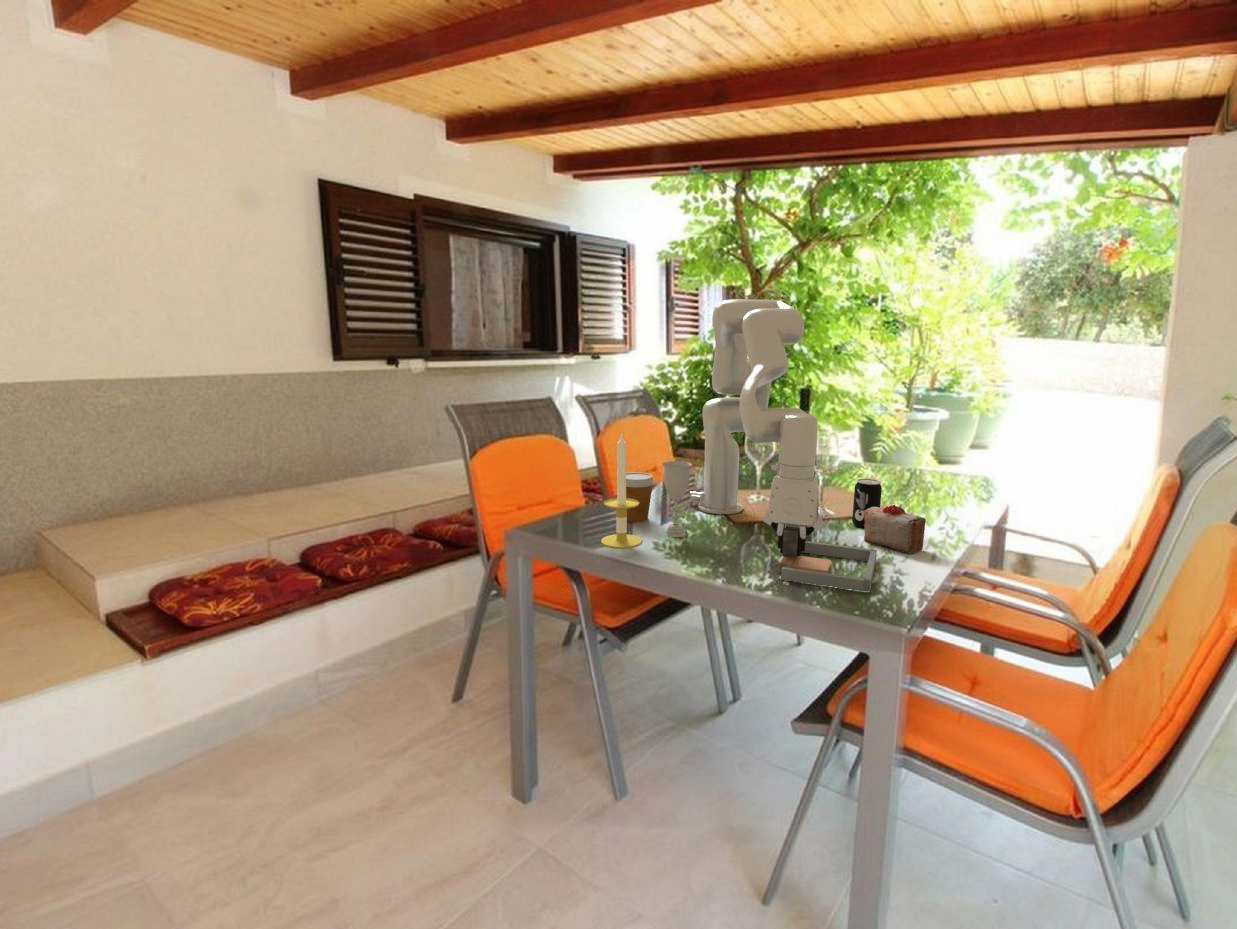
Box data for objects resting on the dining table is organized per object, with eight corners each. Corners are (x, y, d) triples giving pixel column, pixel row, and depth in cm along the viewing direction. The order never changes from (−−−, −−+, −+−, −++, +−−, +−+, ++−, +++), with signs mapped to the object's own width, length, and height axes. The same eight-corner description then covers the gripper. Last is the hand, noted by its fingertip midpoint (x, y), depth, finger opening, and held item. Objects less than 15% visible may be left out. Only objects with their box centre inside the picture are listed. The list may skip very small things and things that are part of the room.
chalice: (692, 531, 171) (694, 462, 167) (686, 539, 164) (688, 467, 161) (665, 528, 173) (666, 460, 169) (657, 536, 167) (658, 465, 163)
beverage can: (880, 530, 172) (884, 484, 170) (853, 528, 173) (857, 483, 171) (876, 522, 178) (879, 478, 176) (850, 521, 180) (853, 477, 177)
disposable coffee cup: (612, 516, 183) (612, 474, 181) (642, 512, 188) (643, 470, 185) (628, 526, 175) (629, 481, 173) (660, 521, 179) (661, 477, 177)
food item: (856, 540, 164) (859, 501, 162) (876, 535, 169) (879, 497, 166) (908, 556, 153) (912, 514, 151) (927, 549, 158) (931, 509, 156)
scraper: (777, 571, 143) (779, 536, 141) (789, 551, 154) (790, 518, 152) (792, 574, 142) (794, 538, 140) (802, 553, 153) (804, 520, 151)
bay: (780, 580, 139) (781, 568, 138) (797, 550, 157) (798, 539, 157) (869, 593, 132) (870, 581, 131) (875, 560, 150) (876, 549, 150)
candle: (594, 538, 165) (594, 430, 160) (631, 533, 169) (632, 427, 164) (610, 550, 156) (610, 436, 151) (649, 545, 160) (650, 433, 155)
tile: (792, 572, 144) (793, 565, 144) (798, 561, 150) (798, 555, 150) (826, 577, 141) (827, 570, 141) (830, 566, 148) (831, 560, 147)
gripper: (754, 471, 143) (750, 553, 147) (833, 478, 137) (827, 564, 141) (761, 464, 150) (758, 542, 154) (837, 471, 144) (831, 552, 147)
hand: (791, 552), depth 147 cm, fingers closed on scraper, 3 cm apart
